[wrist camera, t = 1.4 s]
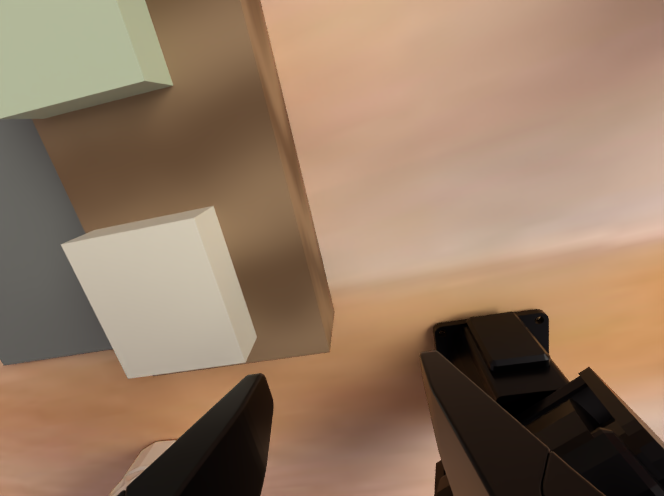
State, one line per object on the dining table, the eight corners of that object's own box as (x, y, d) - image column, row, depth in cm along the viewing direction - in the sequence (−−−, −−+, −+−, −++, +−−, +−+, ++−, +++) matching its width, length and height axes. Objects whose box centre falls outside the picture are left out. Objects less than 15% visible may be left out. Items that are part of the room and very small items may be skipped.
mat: (178, 335, 23) (175, 339, 23) (10, 360, 25) (4, 365, 24) (7, -73, 16) (-3, -79, 15) (-214, 3, 18) (-229, 0, 17)
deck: (334, 311, 22) (329, 352, 18) (185, 334, 23) (152, 376, 19) (224, -148, 14) (178, -240, 11) (17, -76, 16) (-89, -136, 12)
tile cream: (257, 337, 18) (245, 362, 16) (150, 352, 19) (128, 378, 17) (213, 205, 16) (194, 217, 14) (94, 229, 16) (60, 244, 15)
